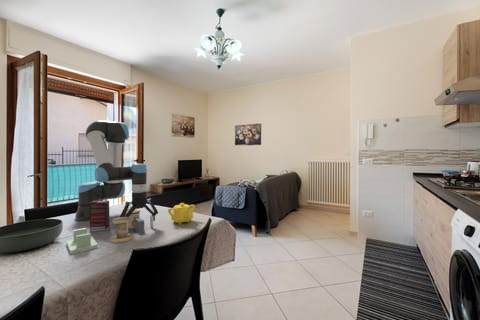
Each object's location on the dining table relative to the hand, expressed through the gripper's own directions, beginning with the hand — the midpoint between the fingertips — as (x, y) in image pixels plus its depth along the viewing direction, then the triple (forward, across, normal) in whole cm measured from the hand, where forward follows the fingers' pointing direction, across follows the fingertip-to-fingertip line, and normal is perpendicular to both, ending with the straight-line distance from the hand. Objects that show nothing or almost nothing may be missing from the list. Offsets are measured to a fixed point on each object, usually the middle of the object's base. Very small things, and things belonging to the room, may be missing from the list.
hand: (139, 229), depth 124 cm
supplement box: (0, -16, +16) cm, 23 cm away
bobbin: (0, -11, -7) cm, 13 cm away
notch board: (0, -27, -4) cm, 27 cm away
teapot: (+1, +25, -4) cm, 25 cm away
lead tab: (0, 0, 0) cm, 1 cm away
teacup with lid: (+1, 0, +11) cm, 11 cm away
